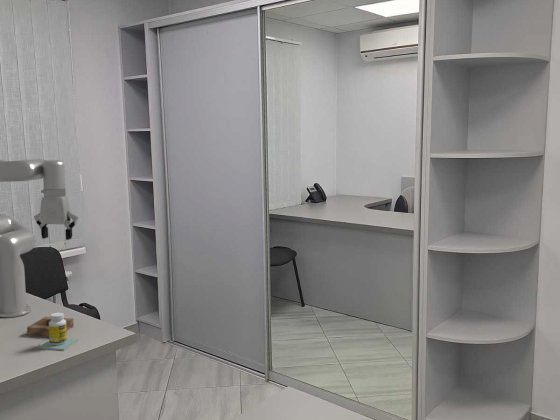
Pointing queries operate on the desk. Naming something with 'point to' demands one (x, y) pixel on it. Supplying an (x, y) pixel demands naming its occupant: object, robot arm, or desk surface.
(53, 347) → the coaster plate
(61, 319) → the supplement bottle
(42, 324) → the can holder
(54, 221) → the robot arm
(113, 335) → the desk surface
